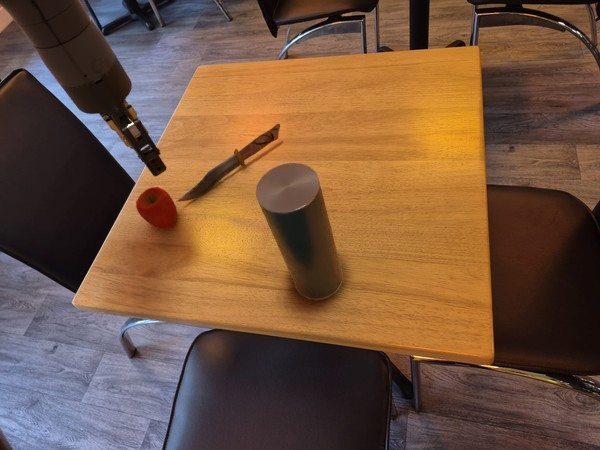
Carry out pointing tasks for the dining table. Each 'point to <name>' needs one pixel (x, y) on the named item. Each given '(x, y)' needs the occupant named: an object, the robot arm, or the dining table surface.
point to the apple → (157, 208)
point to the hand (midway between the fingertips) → (148, 158)
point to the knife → (231, 164)
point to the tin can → (301, 228)
